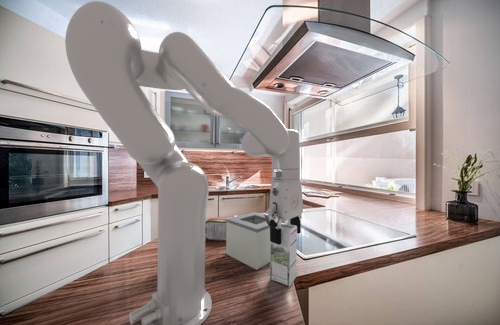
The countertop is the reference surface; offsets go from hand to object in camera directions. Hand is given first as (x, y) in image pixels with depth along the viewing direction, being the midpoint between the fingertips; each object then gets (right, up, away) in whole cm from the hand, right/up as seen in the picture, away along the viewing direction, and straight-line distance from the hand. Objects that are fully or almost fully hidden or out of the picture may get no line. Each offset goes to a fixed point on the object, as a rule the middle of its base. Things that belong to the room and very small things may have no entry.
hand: (286, 237), depth 54 cm
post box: (-8, -11, +14) cm, 19 cm away
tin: (-22, -11, +25) cm, 35 cm away
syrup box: (-1, -11, 0) cm, 11 cm away
